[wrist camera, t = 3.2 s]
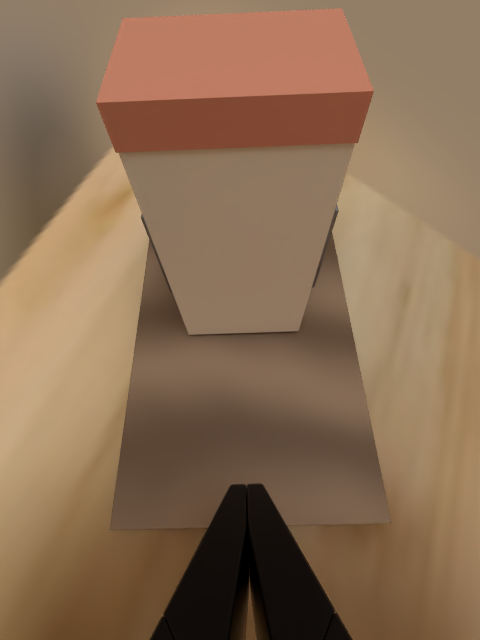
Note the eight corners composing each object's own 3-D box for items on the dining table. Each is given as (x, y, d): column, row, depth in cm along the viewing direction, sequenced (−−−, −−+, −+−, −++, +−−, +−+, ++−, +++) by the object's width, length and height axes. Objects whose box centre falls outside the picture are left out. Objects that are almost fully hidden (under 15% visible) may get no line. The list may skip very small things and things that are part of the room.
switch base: (382, 521, 15) (478, 541, 9) (118, 528, 15) (24, 552, 9) (322, 210, 24) (348, 111, 18) (157, 217, 24) (125, 120, 18)
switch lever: (299, 331, 18) (373, 90, 7) (187, 335, 18) (96, 103, 7) (292, 270, 20) (341, 8, 9) (191, 274, 20) (122, 18, 9)
